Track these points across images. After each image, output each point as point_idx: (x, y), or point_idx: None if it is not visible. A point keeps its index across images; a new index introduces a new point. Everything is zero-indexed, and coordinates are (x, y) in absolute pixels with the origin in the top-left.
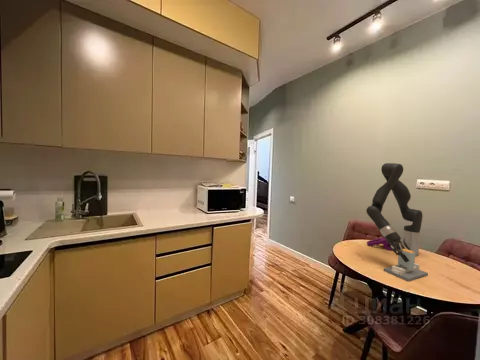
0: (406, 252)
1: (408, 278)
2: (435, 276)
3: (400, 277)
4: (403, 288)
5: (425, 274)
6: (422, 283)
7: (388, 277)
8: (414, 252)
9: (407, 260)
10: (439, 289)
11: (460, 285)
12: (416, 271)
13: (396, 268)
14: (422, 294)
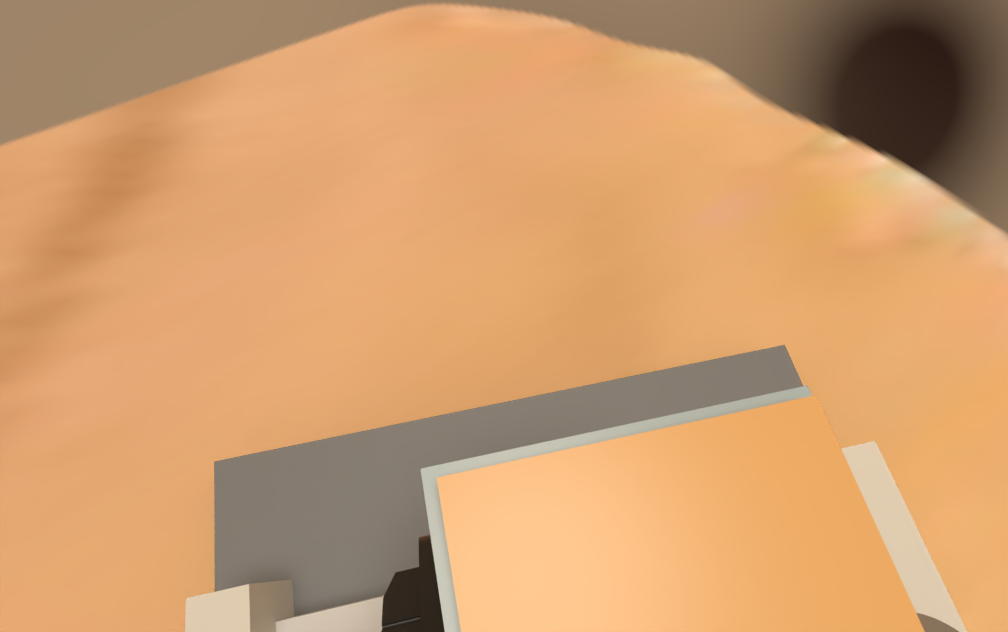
0: (881, 556)
1: (776, 353)
2: (143, 423)
3: None
4: (966, 242)
5: (303, 446)
6: (602, 293)
7: (996, 508)
8: (479, 471)
9: None
10: (532, 169)
11: (141, 191)
12: (371, 544)
13: (906, 542)
14: (834, 133)
